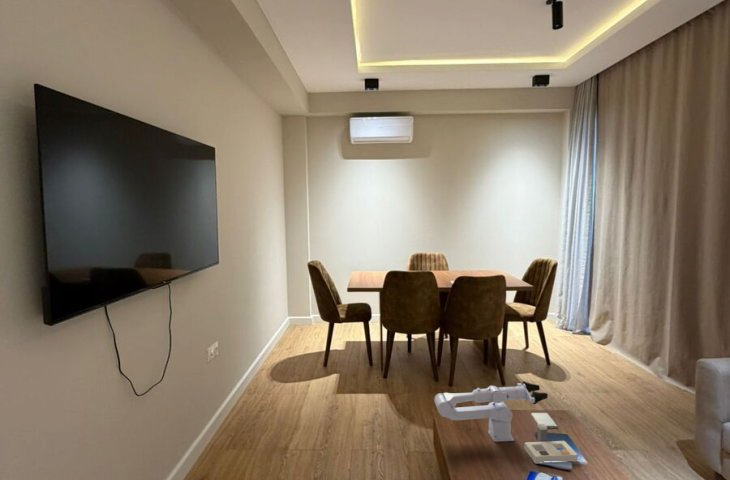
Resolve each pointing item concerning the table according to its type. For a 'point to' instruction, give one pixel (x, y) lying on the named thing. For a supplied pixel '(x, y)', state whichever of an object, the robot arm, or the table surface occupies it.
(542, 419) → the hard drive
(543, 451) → the socket block
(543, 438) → the plug
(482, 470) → the table surface
